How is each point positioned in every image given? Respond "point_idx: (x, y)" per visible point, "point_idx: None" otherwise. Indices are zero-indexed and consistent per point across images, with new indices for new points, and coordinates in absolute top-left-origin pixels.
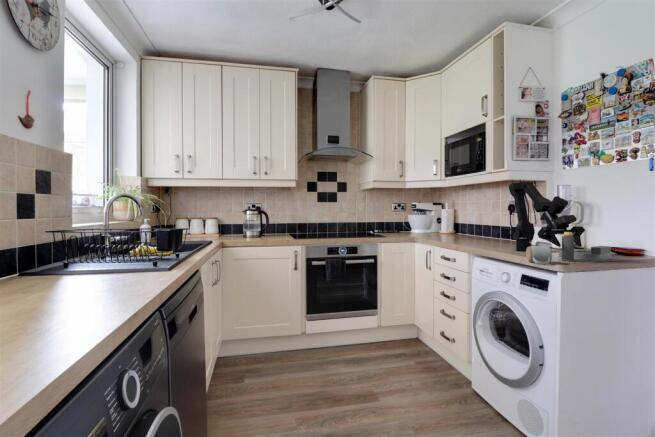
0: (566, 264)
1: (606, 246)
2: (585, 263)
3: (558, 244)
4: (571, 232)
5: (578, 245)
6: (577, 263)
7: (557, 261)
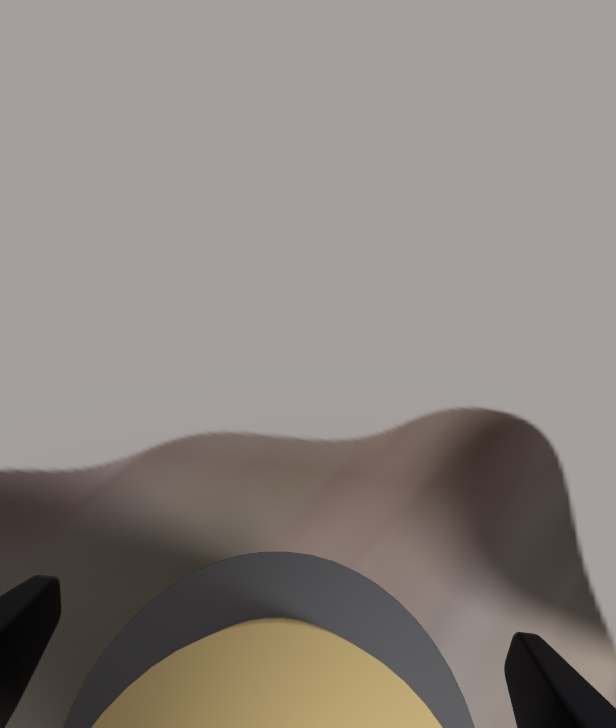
0: (483, 426)
1: None
2: (229, 454)
3: (566, 680)
4: (224, 656)
5: (38, 650)
6: (318, 464)
7: (453, 632)
